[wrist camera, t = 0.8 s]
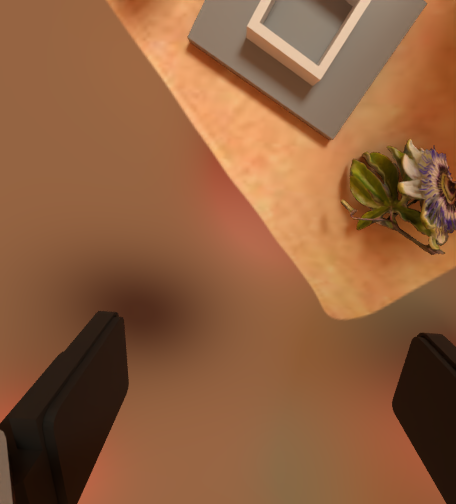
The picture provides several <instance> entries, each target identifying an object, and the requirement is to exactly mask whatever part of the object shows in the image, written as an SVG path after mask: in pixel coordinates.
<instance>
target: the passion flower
mask: <svg viewBox="0 0 456 504" xmlns="http://www.w3.org/2000/svg"><path fill="white" fill-rule="evenodd" d="M387 148H388V149H389V151H390V152H391V153H392V155H393V158H394V160H395V161H396V163H397V166H398V167H399V169H400V172H401V176H402V182H399V172H398V168H397V166H396V164H394V163H392V161H391V160H390V159H389V158H388V157H387V156H385V155H383V154H380V153H377V152H372V153H370V154H369V153H368V152H365V153H363V154H362V157H364V158H365V159H366V161H367V163H368V165H369V166H370V167H372V168H373V169H374V170H375V171H376V172H377V173H378V174H379V175H380V176H381V178H382V180H383V183H384V185H383V183H382V182H381V181H380V179H379V178H378V177H377V176H376V175H375V174H374V173H373V172H371V170H369V169H367V168H366V165H365V164H364V163H362V162H360V161H358V160H356V159H353V160H352V165H351V168H350V190H351V192H352V194H353V196H354V197H355V199H356V200H357V201H358V202H360V203H361V204H363V205H365V206H367V207H368V208H370V209H372V211H368V212H366V213H365V214H364V215H362V216H361V218H355V217H353V216H352V215H353V214H354V213H355V212H357V210H355V209H353V208H352V207H351V206H350V205H349V204H348V203H347V202H346V201H345V200H343V199H342V200H341V203H342V204H343V205H344V206H345V208H346V209H347V210H348V211H349V212H350V215H351V217H352V218H353V219H358V220H359V221H358V224H357V230H361V229H363V228H365V227H367V226H369V225H371V224H372V223H377V224H380V225H383V226H386V227H388V228H391V229H393V230H396V231H398V232H399V233H401V234H402V235H404V236H405V237H406V238H408V239H410V240H411V241H413V242H414V243H415V244H417V245H418V246H419V247H421V248H422V249H423V250H425V251H426V252H428V253H430V254H431V255H432V254H433V255H434V254H436V253H438V254H445V252H443V251H442V250H440V249H439V246H438V245H440V246H442V245H443V244H444V243H446V241H447V239H448V237H449V236H448V234H447V233H452V232H453V231H454V230H456V182H454V181H452V177H451V176H450V175H451V173H450V172H449V170H448V169H449V166H448V164H447V160H446V154H443V153H440V154H438V153H437V152H436V150H435V147H434V150H433V149H432V148H431V149H430V150H427V149H426V150H425V151H424V150H423V148H419V149H417V148H416V147H415V146H414V145H413V143H412V140H411V139H409V140H408V141H407V144H406V145H405V149H404V152H403V153H402V152H400V151H398V150H397V149H396V148H395V147H392V146H387ZM398 182H399V183H398ZM397 189H398V191H399V192H400V193H401V194H402V198H401V200H398V192H397ZM411 199H415V200H414V201H412V202H411V203H409V204H408V201H409V200H411ZM417 201H420V206H421V212H419V211H416V210H413V209H410V208H408V206H409V205H411V204H413V203H416V202H417ZM407 204H408V205H407ZM394 212H396V213H394ZM385 213H390V215H389V217H388V218H387V219H385V218H383V217H382V216H383V215H384V214H385ZM398 214H399V215H400V217H401V218H402V219H403V220H404V221H408V222H410V223H411V224H412V225H414V227H415V228H416V229H417V230H418V231H420V232H421V233H422V234H424V235H427V236H428V237H429V244H428V245H423V244H421V243H420V242H419V241H417V240H416V239H414V238H413V237H411V236H410V235H409V234H407V233H406V232H404V231H403V230H401V229H400V228H399V226H398V224H397V222H396V220H395V217H396V216H397V215H398Z"/></svg>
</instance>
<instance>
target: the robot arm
mask: <svg viewBox="0 0 456 504" xmlns="http://www.w3.org/2000/svg"><path fill="white" fill-rule="evenodd" d="M128 384H129V382H128V368H127V355H126V341H125V327H124V319H123V317H119V315H118V313H117V312H106V311H98V312H97V313H96V314H95V315H94V317H93V318H92V319H91V320H90V321H89V323H88V324H87V325H86V326H85V327H84V329H83V330H82V331H81V332H80V333H79V335H78V336H77V337H76V338H75V340H73V342H72V343H71V344H70V345H69V346H68V348H67V349H66V350H65V351H64V352H62V353H61V354H59V355H58V356H57V358H56V359H55V360H54V361H53V362H52V363H51V365H50V366H49V367H48V368H47V369H46V370H45V372H44V373H43V374H42V375H41V376H40V378H39V379H38V380H37V381H36V383H34V385H33V386H32V387H31V388H30V389H29V390H28V392H27V393H26V394H25V395H24V396H23V397H22V399H21V400H20V401H19V402H18V403H17V405H16V406H15V407H14V408H13V409H12V410H11V412H10V413H9V414H8V415H7V416H6V417H5V419H4V420H3V421H2V422H1V423H0V504H77V503H78V501H79V499H80V496H81V494H82V492H83V490H84V488H85V485H86V483H87V481H88V479H89V476H90V474H91V472H92V469H93V467H94V465H95V463H96V461H97V458H98V456H99V454H100V452H101V450H102V447H103V445H104V443H105V441H106V438H107V436H108V434H109V432H110V430H111V427H112V425H113V423H114V421H115V418H116V416H117V414H118V412H119V409H120V407H121V405H122V403H123V401H124V398H125V396H126V393H127V390H128ZM392 407H393V411H394V413H395V415H396V417H397V419H398V420H399V422H400V424H401V425H402V427H403V429H404V431H405V432H406V434H407V436H408V437H409V439H410V441H411V443H412V445H413V446H414V448H415V450H416V452H417V453H418V455H419V457H420V458H421V460H422V462H423V464H424V465H425V467H426V469H427V471H428V472H429V474H430V476H431V477H432V479H433V481H434V482H435V484H436V486H437V488H438V490H439V491H440V493H441V495H442V496H443V498H444V500H445V502H446V503H447V504H456V347H455V346H454V345H453V344H452V343H451V342H450V341H449V340H448V339H447V338H446V337H444V336H443V335H441V334H433V333H420V334H419V335H417V337H414V338H413V339H412V341H411V344H410V348H409V351H408V354H407V357H406V360H405V363H404V366H403V369H402V372H401V375H400V379H399V382H398V385H397V388H396V391H395V394H394V397H393V401H392Z"/></svg>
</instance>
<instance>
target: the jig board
mask: <svg viewBox="0 0 456 504" xmlns="http://www.w3.org/2000/svg"><path fill="white" fill-rule="evenodd" d="M426 5H427V3H426V2H425V1H424V0H205V1H204V3H203V6H202V8H201V10H200V12H199V14H198V16H197V18H196V20H195V22H194V24H193V27H192V29H191V31H190V33H189V35H188V39H189V42H190V43H192V44H193V45H195V46H196V47H198V48H199V49H200V50H202V51H203V52H205V53H206V54H208V55H209V56H210V57H212V58H213V59H215V60H216V61H217V62H219V63H220V64H222V65H223V66H225V67H226V68H227V69H229V70H230V71H232V72H233V73H235V74H236V75H237V76H239V77H240V78H242V79H243V80H245V81H246V82H247V83H249V84H250V85H252V86H253V87H255V88H256V89H257V90H259V91H260V92H262V93H263V94H265V95H266V96H267V97H269V98H270V99H272V100H273V101H275V102H276V103H277V104H279V105H280V106H282V107H283V108H284V109H286V110H287V111H289V112H290V113H292V114H293V115H294V116H296V117H297V118H299V119H300V120H302V121H303V122H304V123H306V124H307V125H309V126H310V127H312V128H313V129H314V130H316V131H317V132H319V133H320V134H322V135H323V136H324V137H326V138H327V139H329V140H333V139H334V137H335V136H336V135H337V133H338V132H339V130H340V129H341V127H342V126H343V124H344V123H345V122H346V120H347V119H348V117H349V116H350V114H351V113H352V111H353V110H354V109H355V107H356V106H357V104H358V103H359V101H360V100H361V98H362V97H363V96H364V94H365V93H366V91H367V90H368V88H369V87H370V85H371V84H372V83H373V81H374V80H375V78H376V77H377V75H378V74H379V72H380V71H381V70H382V68H383V67H384V65H385V64H386V62H387V61H388V59H389V58H390V57H391V55H392V54H393V52H394V51H395V49H396V48H397V46H398V45H399V44H400V42H401V41H402V39H403V38H404V36H405V35H406V33H407V32H408V31H409V29H410V28H411V26H412V25H413V23H414V22H415V20H416V19H417V18H418V16H419V15H420V13H421V12H422V10H423V9H424V8H425V6H426Z"/></svg>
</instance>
